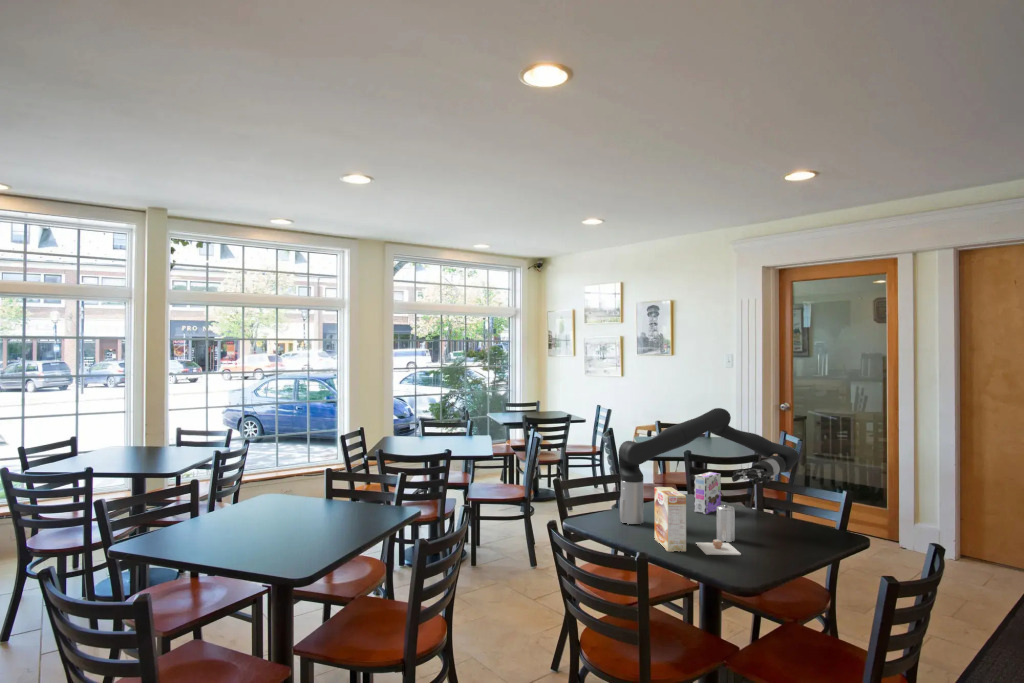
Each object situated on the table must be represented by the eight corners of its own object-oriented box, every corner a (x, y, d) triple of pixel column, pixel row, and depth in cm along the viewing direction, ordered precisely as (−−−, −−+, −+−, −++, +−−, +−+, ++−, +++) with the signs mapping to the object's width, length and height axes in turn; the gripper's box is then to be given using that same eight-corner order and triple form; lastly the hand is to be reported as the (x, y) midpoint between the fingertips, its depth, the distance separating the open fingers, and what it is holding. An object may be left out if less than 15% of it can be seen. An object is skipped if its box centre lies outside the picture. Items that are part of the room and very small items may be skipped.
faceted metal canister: (720, 541, 218) (720, 507, 218) (714, 536, 224) (714, 503, 224) (736, 542, 218) (736, 507, 218) (730, 537, 224) (730, 503, 224)
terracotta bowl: (714, 549, 207) (714, 541, 207) (711, 546, 210) (711, 539, 211) (723, 549, 207) (723, 542, 207) (720, 546, 210) (720, 539, 210)
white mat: (706, 554, 203) (706, 553, 203) (695, 543, 215) (695, 542, 215) (740, 555, 203) (740, 553, 203) (728, 544, 215) (728, 542, 215)
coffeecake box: (653, 539, 220) (653, 486, 221) (672, 538, 221) (672, 486, 221) (667, 552, 205) (667, 495, 206) (686, 551, 206) (686, 495, 206)
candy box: (705, 514, 257) (705, 476, 257) (693, 512, 261) (693, 474, 262) (721, 509, 266) (721, 473, 267) (709, 507, 270) (709, 471, 271)
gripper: (748, 458, 242) (725, 469, 233) (781, 462, 231) (758, 473, 221) (750, 476, 242) (727, 487, 233) (783, 481, 231) (761, 493, 221)
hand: (742, 480), depth 227 cm, fingers open, 8 cm apart
